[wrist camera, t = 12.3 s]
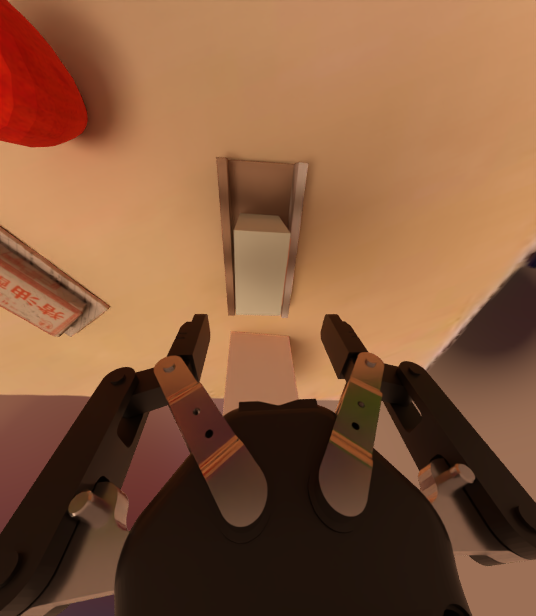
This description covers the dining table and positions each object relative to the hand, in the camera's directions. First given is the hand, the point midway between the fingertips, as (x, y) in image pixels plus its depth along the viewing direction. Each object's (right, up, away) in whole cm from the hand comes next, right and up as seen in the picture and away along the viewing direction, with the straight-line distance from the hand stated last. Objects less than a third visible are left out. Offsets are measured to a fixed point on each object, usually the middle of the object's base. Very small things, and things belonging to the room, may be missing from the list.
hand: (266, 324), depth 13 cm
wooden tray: (-1, +10, +16) cm, 19 cm away
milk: (-2, -9, +28) cm, 30 cm away
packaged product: (-35, +5, +17) cm, 40 cm away
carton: (-1, +10, +14) cm, 17 cm away
